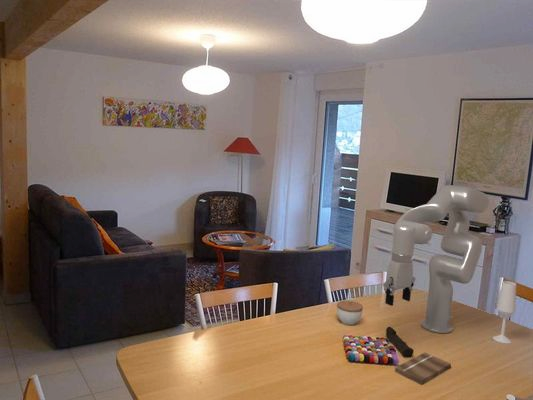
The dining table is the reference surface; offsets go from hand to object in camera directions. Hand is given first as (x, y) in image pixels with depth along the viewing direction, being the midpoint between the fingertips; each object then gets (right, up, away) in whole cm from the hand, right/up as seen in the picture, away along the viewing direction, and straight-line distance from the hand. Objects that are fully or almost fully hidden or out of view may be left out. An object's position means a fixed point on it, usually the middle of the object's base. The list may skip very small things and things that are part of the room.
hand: (397, 302), depth 170 cm
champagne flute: (+47, -19, +15) cm, 53 cm away
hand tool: (0, -18, +4) cm, 18 cm away
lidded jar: (-14, -14, +24) cm, 31 cm away
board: (+5, -20, -13) cm, 25 cm away
